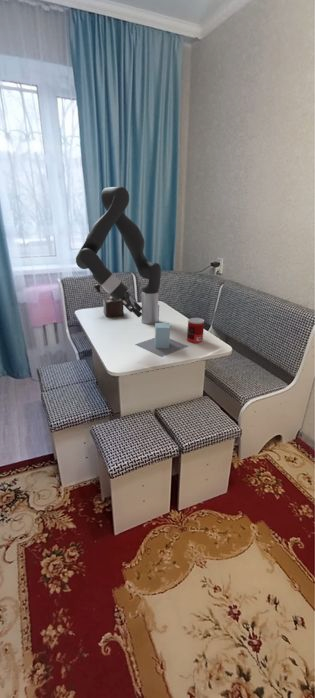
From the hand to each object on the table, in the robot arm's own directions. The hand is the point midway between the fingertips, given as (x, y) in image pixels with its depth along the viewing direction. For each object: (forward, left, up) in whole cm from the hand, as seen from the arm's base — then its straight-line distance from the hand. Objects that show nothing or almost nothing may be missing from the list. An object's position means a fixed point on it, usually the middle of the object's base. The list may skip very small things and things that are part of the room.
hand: (140, 312), depth 143 cm
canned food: (-24, +13, -16) cm, 32 cm away
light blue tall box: (-7, +7, -16) cm, 19 cm away
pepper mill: (-17, -48, -16) cm, 54 cm away
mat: (-7, +7, -16) cm, 19 cm away
